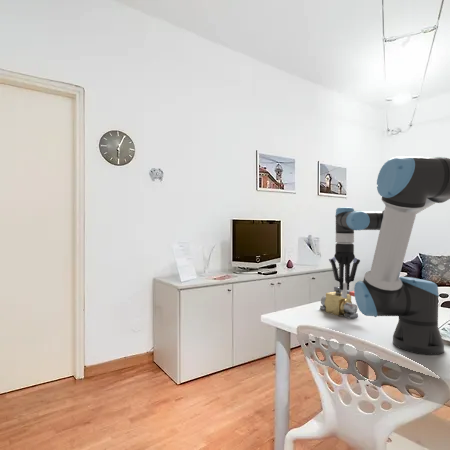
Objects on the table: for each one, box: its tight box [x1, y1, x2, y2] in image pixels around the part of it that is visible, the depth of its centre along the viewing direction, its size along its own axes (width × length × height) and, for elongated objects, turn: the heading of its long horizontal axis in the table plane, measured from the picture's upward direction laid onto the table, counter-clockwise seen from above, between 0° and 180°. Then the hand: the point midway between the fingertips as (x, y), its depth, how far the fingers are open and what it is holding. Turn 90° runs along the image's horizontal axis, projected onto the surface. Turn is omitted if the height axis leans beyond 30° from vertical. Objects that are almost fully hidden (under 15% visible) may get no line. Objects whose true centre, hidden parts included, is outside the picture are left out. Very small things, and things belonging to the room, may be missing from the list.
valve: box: [320, 291, 359, 319], centre depth 154 cm, size 8×18×10 cm, turn 29°
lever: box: [333, 286, 355, 298], centre depth 147 cm, size 18×4×2 cm, turn 20°
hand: (344, 297), depth 142 cm, fingers closed
